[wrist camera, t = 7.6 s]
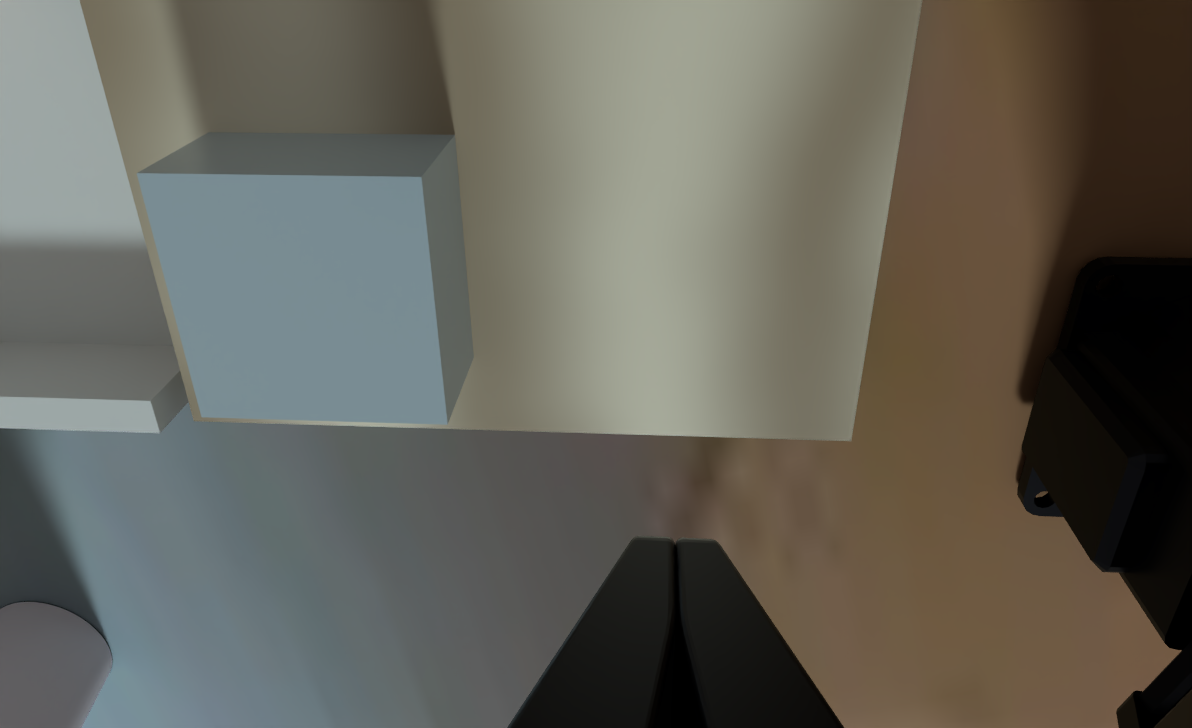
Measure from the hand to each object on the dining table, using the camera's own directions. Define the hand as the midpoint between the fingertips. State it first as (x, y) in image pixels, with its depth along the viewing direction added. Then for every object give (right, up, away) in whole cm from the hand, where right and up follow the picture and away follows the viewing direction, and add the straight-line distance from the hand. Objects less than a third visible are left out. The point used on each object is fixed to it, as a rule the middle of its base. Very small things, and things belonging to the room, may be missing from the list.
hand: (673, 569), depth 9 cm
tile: (-6, +4, +8) cm, 11 cm away
